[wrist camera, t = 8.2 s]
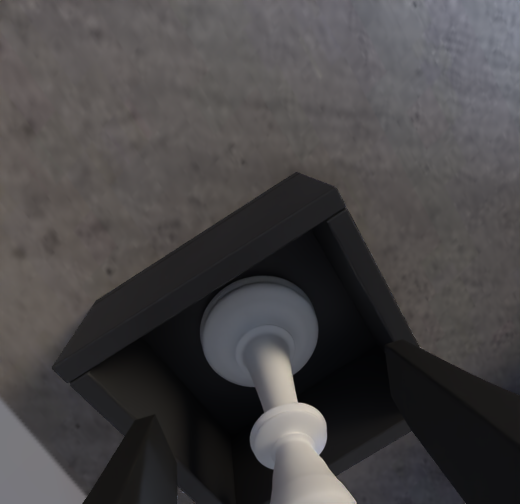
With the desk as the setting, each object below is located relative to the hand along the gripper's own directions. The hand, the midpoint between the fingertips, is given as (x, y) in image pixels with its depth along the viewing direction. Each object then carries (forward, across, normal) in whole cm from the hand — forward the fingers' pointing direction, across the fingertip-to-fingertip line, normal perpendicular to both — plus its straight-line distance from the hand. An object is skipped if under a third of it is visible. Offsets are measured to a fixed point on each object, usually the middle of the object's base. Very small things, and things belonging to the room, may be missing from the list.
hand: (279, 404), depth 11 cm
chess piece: (+5, 0, 0) cm, 5 cm away
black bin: (+5, 0, 0) cm, 5 cm away
